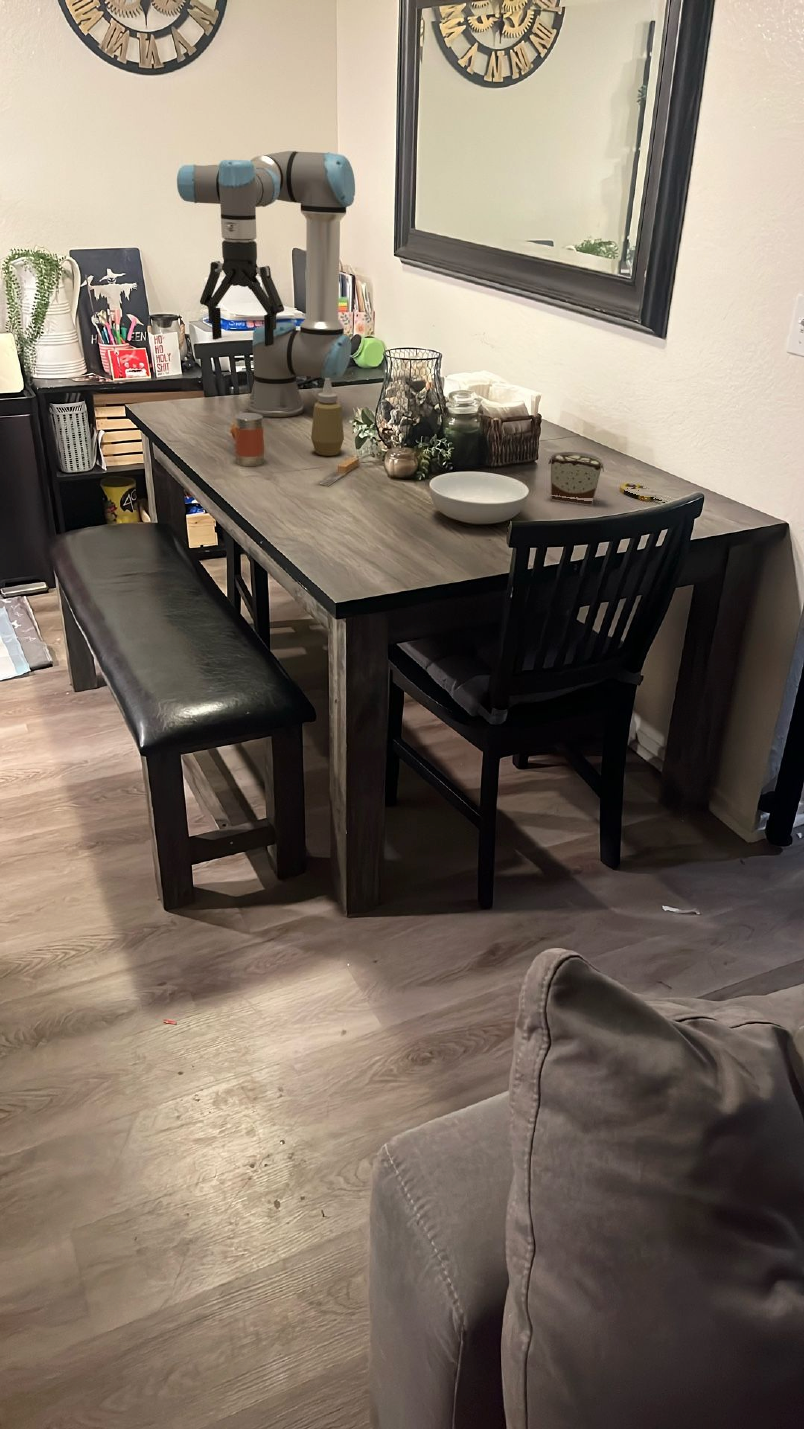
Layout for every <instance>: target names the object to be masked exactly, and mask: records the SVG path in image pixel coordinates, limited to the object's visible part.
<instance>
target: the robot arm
mask: <svg viewBox="0 0 804 1429" xmlns="http://www.w3.org/2000/svg"><path fill="white" fill-rule="evenodd" d="M354 174H355V173H354V170H353V167H352V165H351V162H350V160H349V158H347V157H346V156H345V155H343V154H340V153H333V152H313V151H296V150H287V151H280V152H279V151H278V152H273V153H269V154H264V155H256V156H255V157H253V158H251V159H250V160H248V159H246V160H245V159H222V160H221V161H220V162H219V163H217V164H208V165H206V164H205V165H197V164H184V165H182V166H181V167H180V168H179V169H178V172H177V176H176V187H177V193H178V195H179V197H180V198H181V199H182V200H183V201H185V202H188V203H193V204H213V205H214V204H215V205H217V204H218V205H219V206H220V227H221V230H220V231H221V238H222V239H223V240H222V242H221V251H222V252H221V257H222V259H223V262H221V261H220V260H215V261H212V262H210V267H209V268H210V269H209V270H210V271H209V275H208V278H207V280H206V283H205V286H204V288H203V291H202V293H201V296H200V299H199V303H200V305H201V306H203V305H204V306H206V308H207V314H208V322H209V324H211V334H212V340H215V341H216V340H219V339H222V338H223V335H222V314H221V313H222V312H221V307H218V306H219V304H220V302H221V301H222V299H223V298H224V297H225V295H226V294H227V293H228V291H229V290H230V288H231V287H232V286H234V287H237V286H239V287H242V288H246V287H247V288H248V289H249V290H250V291H251V292H252V294H253V295H254V297H255V298H256V299H257V301H258V302H259V303H260V305H261V307H262V308H263V309H264V311H265V313H266V314H264V315H263V318H264V319H263V324H262V325H259V326H257V327H255V328H254V330H253V332H252V343H251V346H252V360H253V361H252V363H253V385H252V389H251V392H250V396H249V399H248V402H247V403H248V405H247V411H248V413H257V414H260V415H262V416H263V418H288V417H295V416H298V415H300V414H302V413H303V412H304V404H303V403H304V402H303V399H302V397H301V394H300V390H299V386H300V385H303V384H306V383H310V382H312V381H315V380H317V379H322V380H325V379H326V378H329V379H330V380H337V379H340V378H341V377H342V376H343V375H344V374H345V373H346V370H347V368H348V366H349V362H350V359H351V353H352V342H351V337H350V336H349V335H348V334H347V333H345V326H344V325H343V323H342V322H341V321H340V320H339V309H340V308H339V301H340V300H339V299H340V255H341V254H340V249H341V247H340V246H341V221H342V219H343V218H345V216H346V215H347V208H348V207H350V206H353V204H354V201H355V196H356V181H355V175H354ZM276 201H281V202H286V203H287V202H288V203H295V204H300V213H301V215H303V216H304V218H305V220H306V224H305V226H306V231H305V232H306V234H305V236H306V240H305V241H306V244H305V245H306V248H305V250H306V251H305V259H306V260H305V272H306V273H305V277H306V278H305V319H304V320H303V321H302V322H301V323H300V325H299V328H300V329H297V325H296V323H295V322H277V315H278V314H280V313H283V312H285V306H284V304H283V302H282V300H281V297H280V295H279V292H278V290H277V288H276V284H275V283H274V280H273V278H272V274H271V273H272V272H271V271H272V270H271V267H270V266H269V265H265V266H264V265H263V266H258V263H257V262H258V261H257V260H258V243H257V242H256V241H255V240H256V239H257V215H256V214H257V213H256V210H257V209H256V208H260V207H263V208H265V207H267V206H269V205H271V204H273V203H275V202H276ZM222 272H223V273H224V275H225V276H224V277H223V279H222V280H221V282H220V284H219V286H218V287H217V284H218V281H219V279H220V276H221V273H222ZM257 276H258V277H259V278H260V279H261V282H262V285H263V287H262V285H261V282H260V280H259V279H258V278H257ZM216 288H217V289H216ZM297 376H300V377H309V378H308V379H304V380H301V381H299V382H297Z"/></svg>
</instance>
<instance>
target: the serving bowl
mask: <svg viewBox="0 0 804 1429" xmlns="http://www.w3.org/2000/svg"><path fill="white" fill-rule="evenodd" d="M428 486H429V487H428V488H429V494H430V499H431V501H432V503H433V505H434V506H435V508H436V509H437V510H438V511H439V512H440V513H441V514H443V515H445V516H446V517H448V518H450V519H452V520H455V521H459V522H463V523H466V524H470V525H471V524H472V525H491V524H497V523H503V522H505V521H508V520H511V519H512V518H514V517H516V516H517V515H518V514H519V513H521V511H522V510H523V509H524V507H525V505H526V503H527V501H528V497H529V494H530V490H529V487H528V486H527V485H526V484H525V483H524V482H522V481H520V480H519V479H516V478H513V477H510V476H506V475H502V474H497V473H492V472H484V471H455V472H447V473H443V474H440V475H437V476H435V477H433V478H432V479H431V480H430V481H429V484H428Z"/></svg>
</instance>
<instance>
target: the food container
mask: <svg viewBox="0 0 804 1429" xmlns="http://www.w3.org/2000/svg"><path fill="white" fill-rule="evenodd" d="M547 465H550V501H553V502H560V503H566V504H573V505H581V506H588V507H593V505H594V501H593V502H592V501H584V500H577V499H570V498H562V497H555V496H551V495H558V496H559V495H560V496H566V497H575V498H576V497H578V498H593V499H594V500H595V496H596V492H597V488H598V483H599V480H600V475H601V471H602V473H604V472H605V468H604V467H605V466H604V462H603V459H602V458H601V457H599V456H598V455H595V454H592V453H587V452H581V451H561V452H555V453H553V454H551V455H550V458H549V459H548V463H547Z"/></svg>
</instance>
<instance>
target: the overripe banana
mask: <svg viewBox="0 0 804 1429" xmlns="http://www.w3.org/2000/svg"><path fill="white" fill-rule="evenodd" d="M621 485H622V486H624V487H633V488H631V489H639V488H641V489H647V488H648V489H650V488H649V487H646V488H643V487H644V486H643V485H640V484H635V483H632V482H625V483H621V484H620V486H621ZM620 486H619V491H620V492H621V493H623V495H625V496H627V497H629V498H633V499H636V500H640V501H644V502H651V501H657V502H659V501H662V500H663V499H661V500H659V499H660V498H659V499H656V498H657V497H656V495H657V494H656V495H655V497H656V498H655V499H653V498H654V497H644V496H640V495H636V494H633V493H630V492H628V491H625V490H624V489H622V488H621V487H620ZM636 487H638V488H636ZM627 489H628V488H627ZM629 489H630V488H629ZM638 491H639V490H638ZM642 498H643V499H642ZM645 498H647V499H645ZM661 503H662V504H664V503H665V502H661Z"/></svg>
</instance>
